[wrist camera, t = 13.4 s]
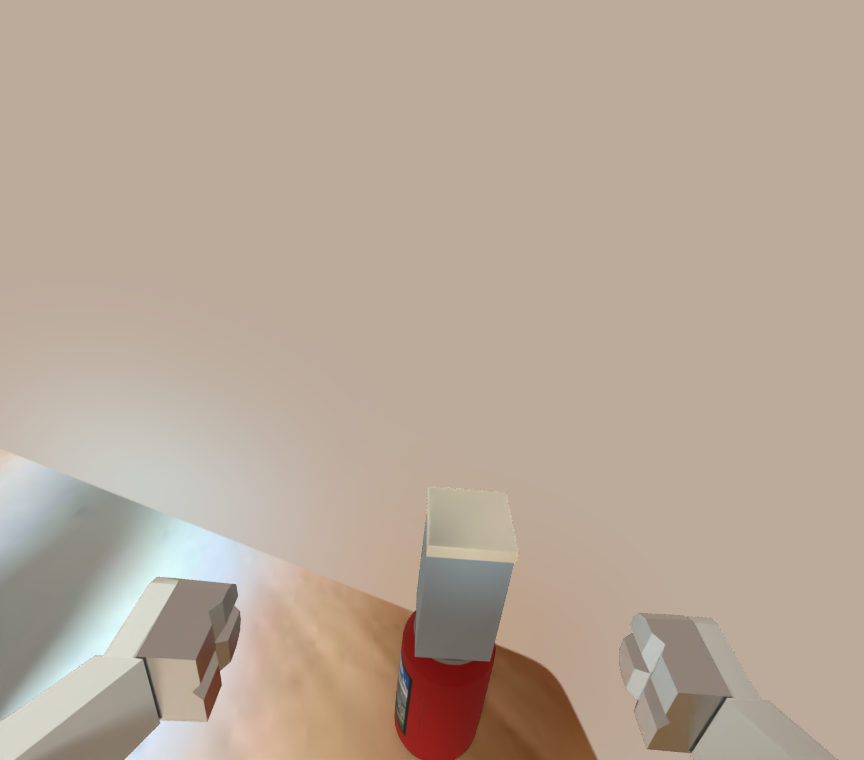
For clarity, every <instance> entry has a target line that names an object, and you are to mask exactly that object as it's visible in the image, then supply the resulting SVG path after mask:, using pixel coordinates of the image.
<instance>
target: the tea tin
mask: <svg viewBox="0 0 864 760" xmlns="http://www.w3.org/2000/svg"><path fill="white" fill-rule="evenodd" d="M518 555H519V551H518V546H517V541H516V537H515V532H514V527H513V522H512V517H511V513H510V507H509V502H508V498H507V493H505V492H493V491H481V490H468V489H456V488H443V487H431V486H428V493H427V515H426V523H425V531H424V540H423V547H422V555H421V563H420V571H419V580H418V588H417V604H416V631H415V657H427V658H442V659H458V660H473V661H488V662H490V659H491V655H492V651H493V647H494V643H495V639H496V635H497V630H498V627H499V623H500V619H501V614H502V610H503V606H504V602H505V598H506V594H507V590H508V586H509V582H510V578H511V573H512V569H513V565H514V563H516V562H517V559H518Z"/></svg>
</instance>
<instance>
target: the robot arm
mask: <svg viewBox="0 0 864 760" xmlns="http://www.w3.org/2000/svg"><path fill="white" fill-rule="evenodd" d="M237 597H238V593H237V587H236V584H227V583H217V582H207V581H197V580H187V579H177V578H165V577H156V578H155V579H154V580H153V581H152V582H151V583H150V584H149V585H148V586H147V588H146V590H145V591H144V593H143V594H142V596H141V597H140V599H139V601H138V602H137V604H136V605H135V607H134V608H133V610H132V612H131V613H130V615H129V616H128V618H127V619H126V621H125V623H124V624H123V626H122V627H121V629H120V630H119V632H118V634H117V635H116V637H115V638H114V640H113V641H112V643H111V645H110V646H109V648H108V649H107V651H106V652H105V654H104V656H94V657H92V658H91V659H89V660H88V661H87V662H85V663H84V664H82V665H81V666H79V667H78V668H77V669H75V670H74V671H72V672H71V673H69V674H68V675H67V676H65V677H64V678H62V679H61V680H59V681H58V682H57V683H55V684H54V685H52V686H51V687H49V688H48V689H47V690H45V691H44V692H42V693H41V694H40V695H38V696H37V697H35V698H34V699H32V700H31V701H30V702H28V703H27V704H25V705H24V706H22V707H21V708H20V709H18V710H17V711H15V712H14V713H12V714H11V715H10V716H8V717H7V718H5V719H4V720H2V721H1V722H0V760H124V759H125V758H126V757H127V756H128V755H129V754H130V753H131V752H132V751H133V750H134V749H135V748H136V747H137V746H138V745H139V744H140V743H141V742H142V741H143V740H144V739H145V738H146V737H147V736H148V735H149V734H150V733H151V732H152V731H153V730H154V729H155V728H156V727H157V726H158V725H159V724H160V721H159V720H168V721H199V722H207V721H208V719H209V716H210V714H211V711H212V709H213V706H214V703H215V701H216V698H217V696H218V693H219V691H220V688H221V686H222V683H221V676H220V671H221V670H222V669H223V668H224V667H225V666H226V665H227V664H229V663H230V662H231V659H232V657H233V654H234V651H235V649H236V645H237V641H238V637H239V632H240V621H241V618H240V611H239V610H238V609H237V608H236V607H235V606H234V604H235V602H236V599H237ZM630 626H631V628H632V631H633V633H631V634H630V635H628V636H627V637H625V638H624V639H623V642H622V645H621V647H620V656H619V657H620V659H619V664H620V670H621V675H622V678H623V681H624V684H625V687H626V689H627V690H628V691H629V692H630V693H631V694H632V695H633V696H634V697H635V698H636V700H637V704H636V707H635V710H634V714H635V717H636V720H637V722H638V725H639V728H640V731H641V734H642V736H643V740H644V742H645V745H646V748H647V749H651V750H662V751H673V752H684V753H691V755H690V756H691V758H692V759H693V760H838V759H837V758H836V757H835V756H833V755H832V754H831V753H830V752H829V751H828V750H826V749H825V748H824V747H823V746H822V745H821V744H819V743H818V742H817V741H816V740H815V739H813V738H812V737H811V736H810V735H809V734H807V733H806V732H805V731H804V730H803V729H802V728H801V727H799V726H798V725H797V724H796V723H795V722H794V721H792V720H791V719H790V718H789V717H788V716H787V715H785V714H784V713H783V712H782V711H781V710H779V709H778V708H777V707H776V706H775V705H773V703H771V702H770V701H766V700H761V698H760V696H759V695H758V693H757V691H756V689H755V688H754V686H753V684H752V682H751V681H750V679H749V677H748V676H747V674H746V672H745V671H744V669H743V667H742V665H741V663H740V662H739V660H738V658H737V657H736V655H735V653H734V651H733V650H732V648H731V646H730V645H729V643H728V641H727V640H726V638H725V636H724V634H723V633H722V631H721V629H720V628H719V626H718V624H717V623H716V622H715V621H714V620H713V619H711V618H702V617H701V618H700V617H685V616H681V615H665V614H648V613H638V614H636V615H635V616H633V618H632V621H631V623H630Z"/></svg>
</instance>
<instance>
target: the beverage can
mask: <svg viewBox="0 0 864 760" xmlns="http://www.w3.org/2000/svg"><path fill="white" fill-rule="evenodd" d="M415 631H416V611H415V612H414V613H413V614H412V615H411V616H410V618H409V619H408V621H407V623H406V625H405V628H404V633H403V640H402V648H401V656H400V664H399V673H398V683H397V693H396V704H395V725H396V730H397V733H398V735H399V737H400V739H401V741H402V743H403V744H404V746H405V747H406V748H407V749H408V750H409V751H410V752H411V753H412V754H413V755H414V756H416V757H418V758H419V759H421V760H455V759H456V758H458V757H460V756H461V755H462V754H463V753H464V752H465V751H466V750H467V749H468V748H469V746H470V745H471V743H472V741H473V739H474V736H475V733H476V729H477V726H478V722H479V718H480V714H481V711H482V707H483V703H484V699H485V695H486V691H487V687H488V683H489V679H490V674H491V670H492V666H493V661H494V657H495V643H494V647H493V651H492V655H491V659H490V662H488V661H473V660H458V659H442V658H427V657H415Z"/></svg>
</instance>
